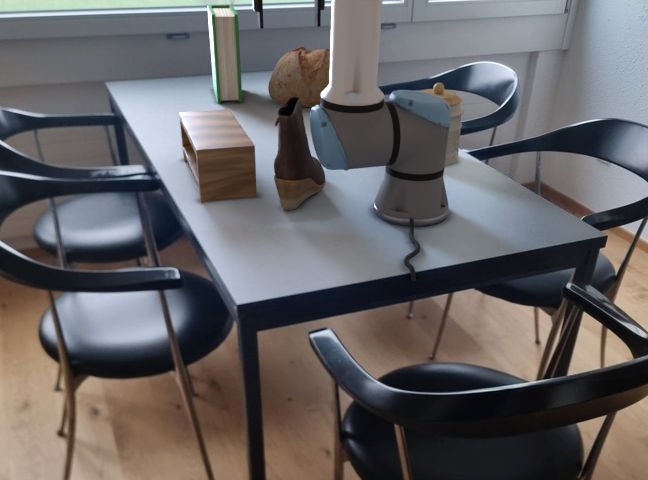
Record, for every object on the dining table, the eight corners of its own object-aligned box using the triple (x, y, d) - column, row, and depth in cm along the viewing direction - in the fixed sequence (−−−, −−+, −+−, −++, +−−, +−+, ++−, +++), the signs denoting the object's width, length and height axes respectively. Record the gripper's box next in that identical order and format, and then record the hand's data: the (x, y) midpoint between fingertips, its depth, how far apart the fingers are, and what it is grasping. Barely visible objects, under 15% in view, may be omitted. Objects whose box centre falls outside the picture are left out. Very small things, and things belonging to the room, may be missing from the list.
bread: (357, 93, 221) (359, 41, 212) (352, 113, 202) (354, 58, 193) (275, 89, 222) (274, 38, 214) (263, 109, 204) (261, 54, 195)
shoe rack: (256, 196, 148) (254, 145, 142) (201, 202, 145) (196, 150, 139) (232, 155, 170) (229, 109, 164) (183, 159, 167) (178, 112, 161)
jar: (421, 170, 164) (429, 91, 153) (395, 153, 173) (401, 78, 163) (467, 163, 168) (478, 87, 158) (439, 147, 178) (448, 74, 167)
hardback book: (242, 102, 209) (237, 14, 195) (217, 103, 208) (211, 14, 194) (236, 88, 223) (231, 4, 209) (213, 89, 222) (207, 5, 208)
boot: (331, 175, 160) (334, 83, 148) (309, 215, 141) (309, 114, 129) (295, 172, 161) (294, 81, 149) (267, 211, 142) (264, 111, 130)
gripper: (338, -83, 154) (335, 22, 167) (227, -84, 148) (233, 25, 161) (348, -82, 148) (345, 27, 161) (233, -82, 143) (239, 31, 155)
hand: (289, 26), depth 161 cm, fingers open, 13 cm apart
